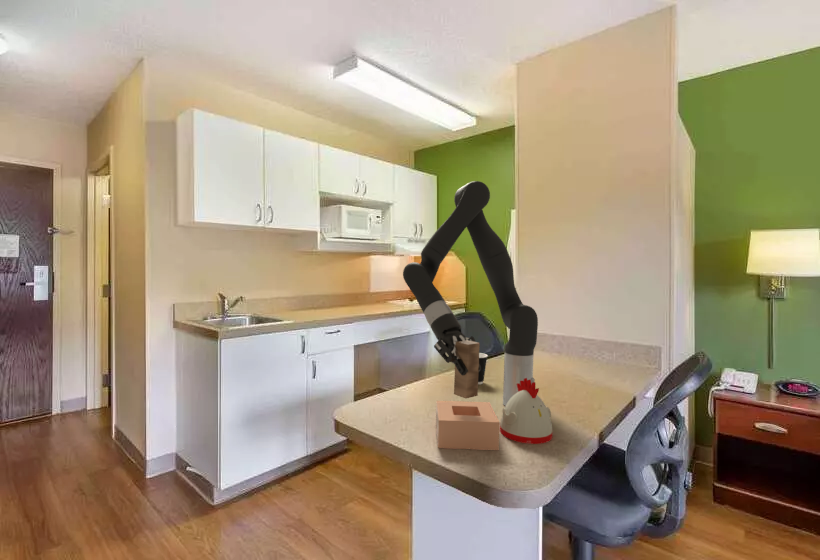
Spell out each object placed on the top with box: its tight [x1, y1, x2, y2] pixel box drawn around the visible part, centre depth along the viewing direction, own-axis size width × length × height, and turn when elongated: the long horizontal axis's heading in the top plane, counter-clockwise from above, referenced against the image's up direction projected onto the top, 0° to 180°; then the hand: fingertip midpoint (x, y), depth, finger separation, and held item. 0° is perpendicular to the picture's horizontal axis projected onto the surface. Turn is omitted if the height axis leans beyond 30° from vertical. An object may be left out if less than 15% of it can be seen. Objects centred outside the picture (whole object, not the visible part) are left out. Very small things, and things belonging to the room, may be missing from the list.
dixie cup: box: [478, 352, 489, 386], centre depth 162 cm, size 8×8×11 cm
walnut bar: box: [453, 340, 481, 399], centre depth 110 cm, size 4×4×14 cm
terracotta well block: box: [435, 400, 501, 451], centre depth 111 cm, size 15×15×7 cm
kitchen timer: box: [499, 378, 553, 445], centre depth 114 cm, size 14×14×15 cm
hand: (472, 372), depth 109 cm, fingers closed on walnut bar, 4 cm apart
